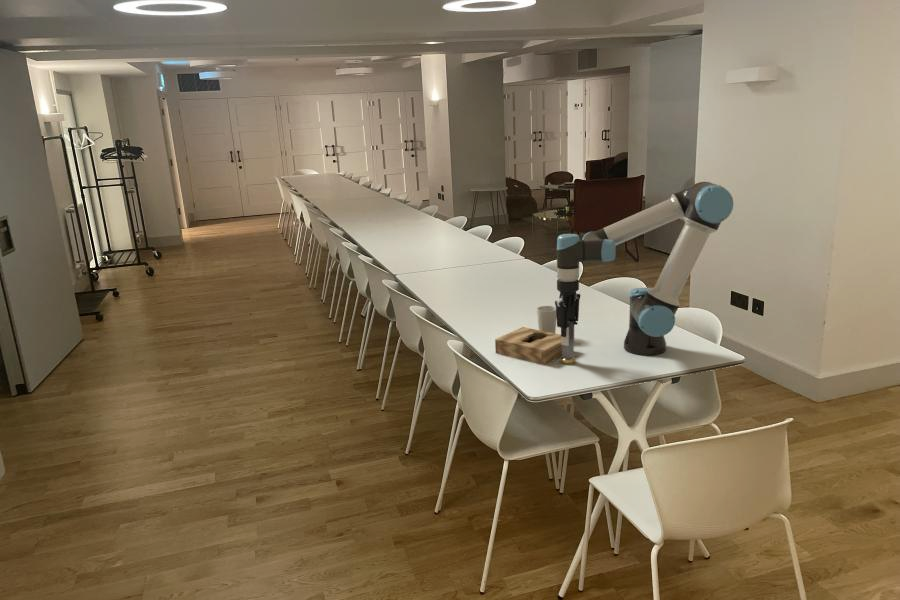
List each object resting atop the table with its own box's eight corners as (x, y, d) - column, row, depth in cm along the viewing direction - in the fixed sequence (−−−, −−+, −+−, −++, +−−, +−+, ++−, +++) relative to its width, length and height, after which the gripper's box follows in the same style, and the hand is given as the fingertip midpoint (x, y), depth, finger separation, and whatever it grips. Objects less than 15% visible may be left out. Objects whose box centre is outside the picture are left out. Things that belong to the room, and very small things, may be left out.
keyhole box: (571, 350, 247) (571, 336, 246) (545, 365, 234) (544, 350, 233) (523, 340, 261) (523, 326, 260) (495, 353, 248) (495, 339, 247)
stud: (577, 361, 236) (577, 321, 232) (570, 365, 233) (570, 325, 229) (565, 358, 240) (565, 319, 236) (557, 362, 236) (557, 322, 232)
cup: (542, 341, 259) (541, 312, 255) (533, 335, 266) (533, 307, 263) (560, 339, 261) (560, 309, 257) (552, 333, 268) (552, 304, 265)
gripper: (570, 273, 236) (570, 335, 242) (545, 282, 225) (546, 347, 231) (589, 275, 231) (588, 339, 238) (564, 285, 220) (564, 351, 226)
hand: (567, 343), depth 234 cm, fingers closed on stud, 3 cm apart
